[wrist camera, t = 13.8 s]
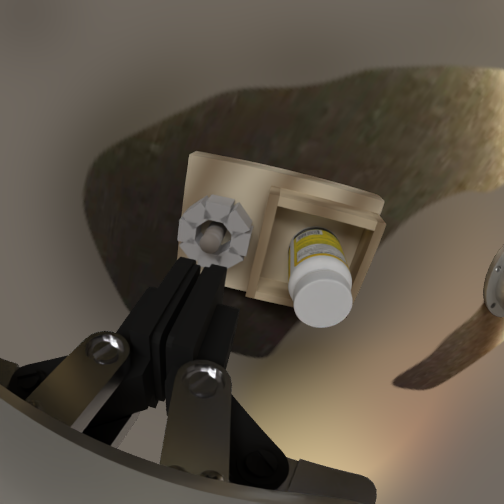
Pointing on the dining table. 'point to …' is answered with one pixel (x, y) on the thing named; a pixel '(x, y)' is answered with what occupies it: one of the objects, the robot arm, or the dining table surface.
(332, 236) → the supplement bottle
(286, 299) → the wooden peg tray
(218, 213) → the wheel
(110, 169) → the dining table surface
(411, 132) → the dining table surface
